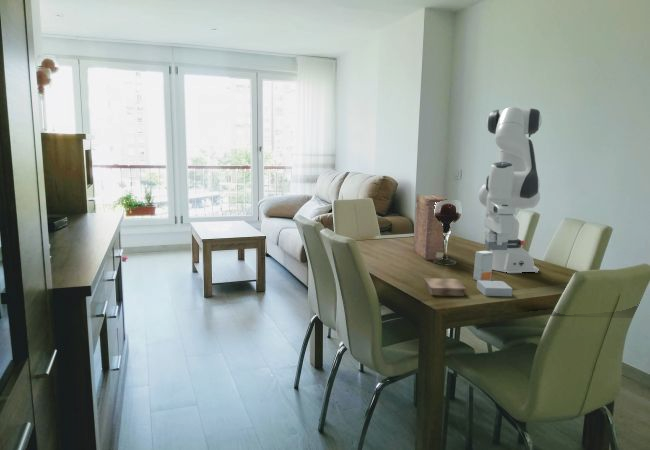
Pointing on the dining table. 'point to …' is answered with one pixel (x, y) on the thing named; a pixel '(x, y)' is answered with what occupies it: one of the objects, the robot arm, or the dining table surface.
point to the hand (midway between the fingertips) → (495, 243)
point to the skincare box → (483, 265)
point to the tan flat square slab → (444, 287)
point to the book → (428, 229)
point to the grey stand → (494, 288)
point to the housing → (491, 241)
